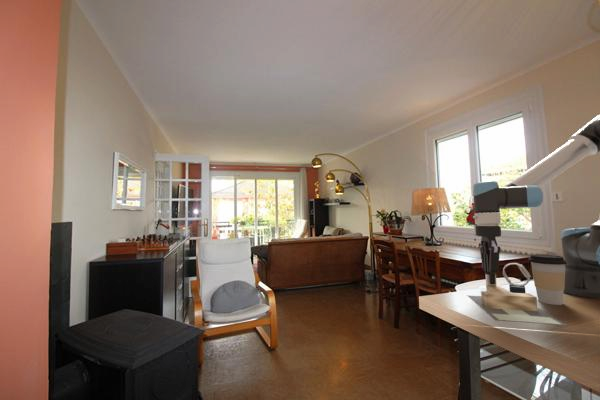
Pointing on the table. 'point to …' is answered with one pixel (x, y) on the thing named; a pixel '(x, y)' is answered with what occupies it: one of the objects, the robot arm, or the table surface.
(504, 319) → the mat
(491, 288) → the t block
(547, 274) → the coffee cup
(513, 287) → the watch
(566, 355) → the table surface
